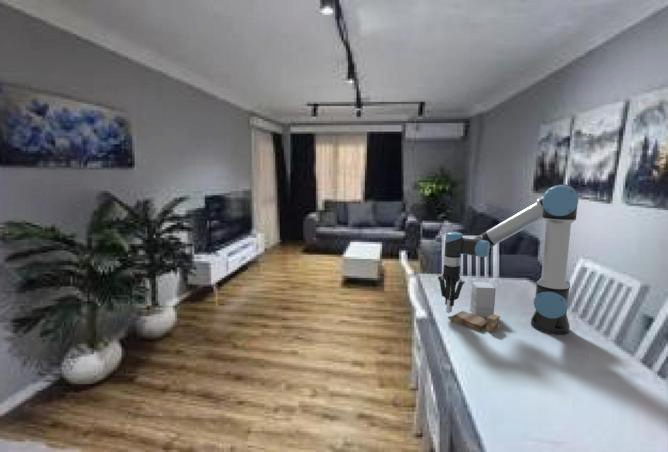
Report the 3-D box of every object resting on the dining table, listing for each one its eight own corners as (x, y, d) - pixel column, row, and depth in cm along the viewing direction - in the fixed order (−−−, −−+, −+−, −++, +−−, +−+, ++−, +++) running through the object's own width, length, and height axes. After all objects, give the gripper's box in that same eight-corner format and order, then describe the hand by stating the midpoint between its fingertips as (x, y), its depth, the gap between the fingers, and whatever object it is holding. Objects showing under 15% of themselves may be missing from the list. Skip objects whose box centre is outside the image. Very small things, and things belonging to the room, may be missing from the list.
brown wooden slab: (490, 326, 168) (490, 319, 168) (480, 332, 162) (480, 325, 161) (462, 316, 178) (462, 311, 178) (451, 322, 172) (451, 316, 171)
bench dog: (498, 328, 164) (499, 316, 163) (492, 332, 160) (493, 319, 159) (491, 326, 166) (493, 314, 166) (486, 330, 162) (487, 317, 161)
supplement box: (488, 310, 185) (490, 282, 183) (493, 318, 176) (496, 288, 174) (469, 310, 186) (471, 281, 184) (474, 317, 177) (476, 287, 175)
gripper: (468, 266, 173) (465, 313, 176) (443, 260, 182) (441, 306, 186) (460, 268, 167) (457, 317, 171) (435, 263, 177) (433, 310, 180)
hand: (449, 311), depth 178 cm, fingers closed
